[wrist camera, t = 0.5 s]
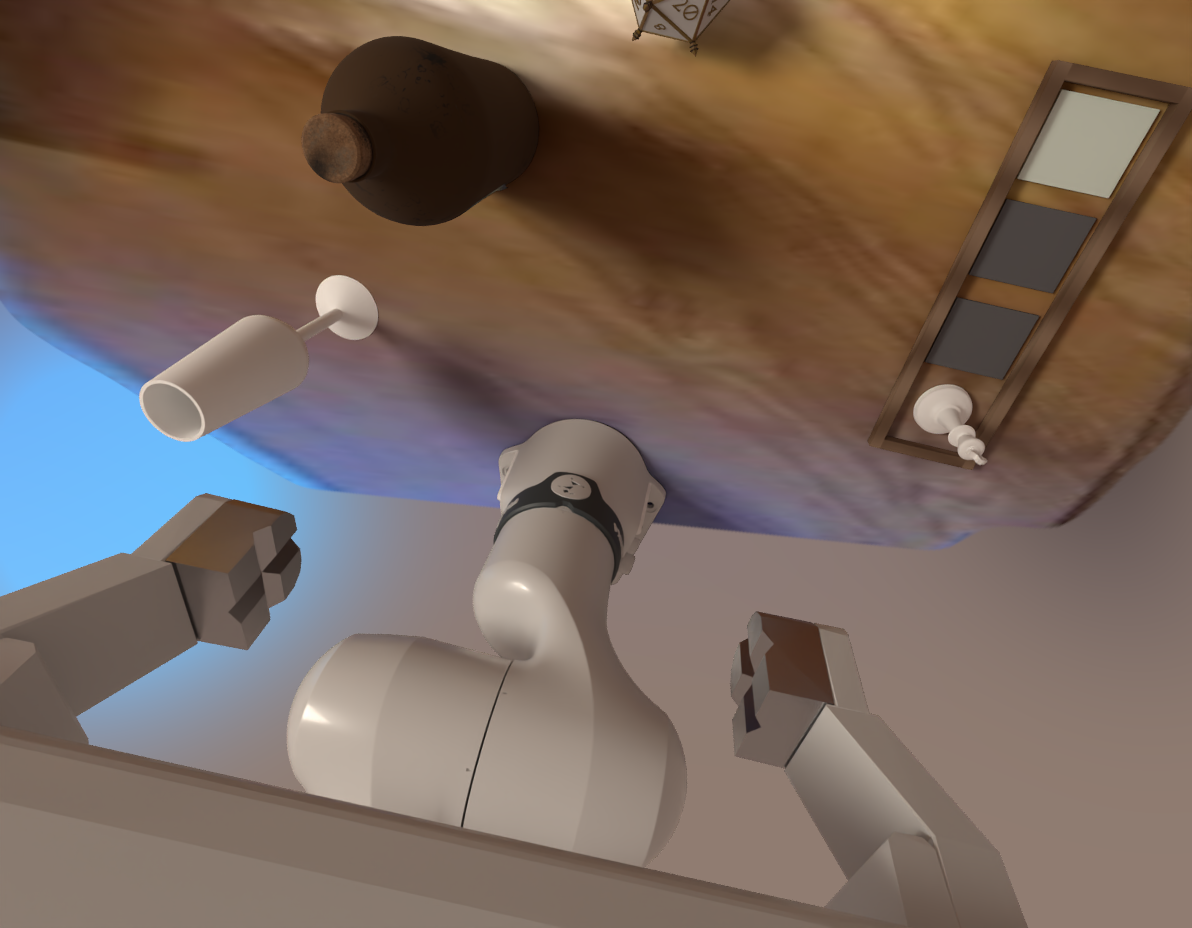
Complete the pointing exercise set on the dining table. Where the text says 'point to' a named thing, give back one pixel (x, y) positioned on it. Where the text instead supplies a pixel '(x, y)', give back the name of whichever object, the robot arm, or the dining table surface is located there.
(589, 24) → the dining table surface
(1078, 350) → the dining table surface
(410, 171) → the olive oil
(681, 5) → the game die
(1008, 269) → the tiles
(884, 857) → the robot arm
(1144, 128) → the pad
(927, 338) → the tray
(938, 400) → the chess piece
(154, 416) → the champagne flute
